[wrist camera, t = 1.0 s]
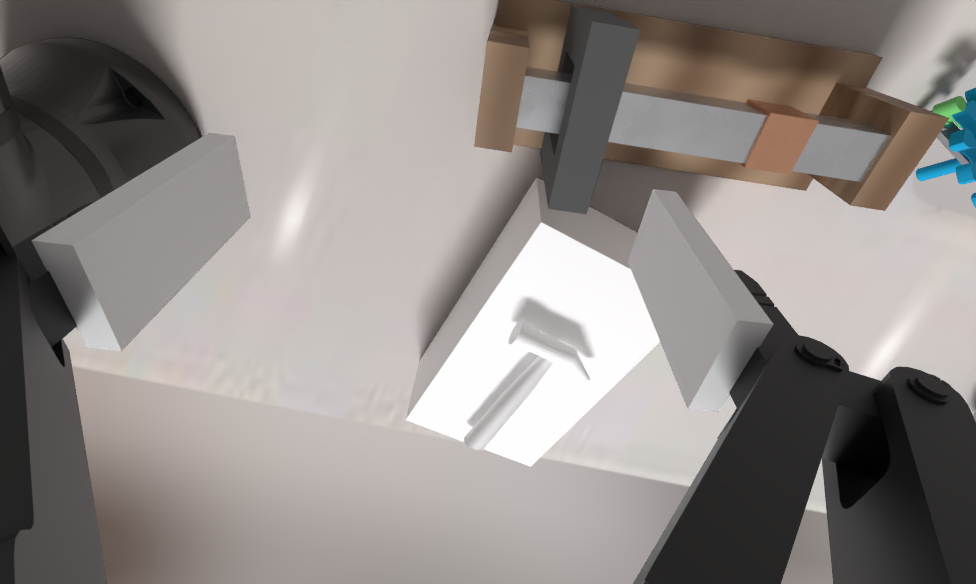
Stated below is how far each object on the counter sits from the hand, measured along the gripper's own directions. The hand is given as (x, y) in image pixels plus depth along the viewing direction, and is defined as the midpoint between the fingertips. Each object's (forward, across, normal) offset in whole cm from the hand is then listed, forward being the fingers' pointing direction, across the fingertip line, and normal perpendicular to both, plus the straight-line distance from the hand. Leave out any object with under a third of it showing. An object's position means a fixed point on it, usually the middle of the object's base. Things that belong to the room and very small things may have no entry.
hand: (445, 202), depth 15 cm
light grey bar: (+19, +14, -1) cm, 24 cm away
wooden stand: (+24, +14, -1) cm, 28 cm away
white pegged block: (+25, +8, -22) cm, 34 cm away
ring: (+22, +7, 0) cm, 23 cm away
